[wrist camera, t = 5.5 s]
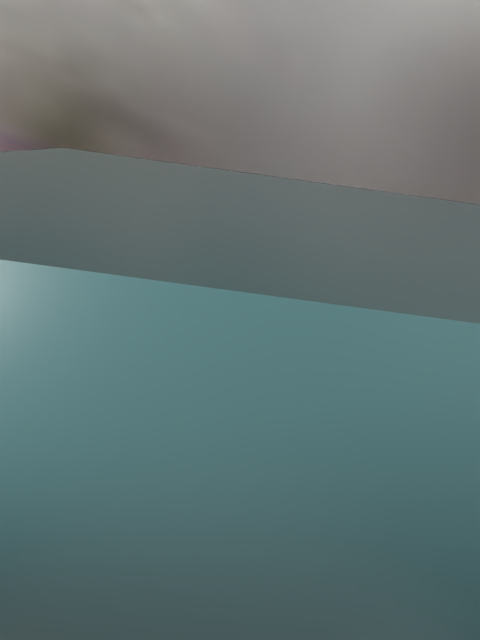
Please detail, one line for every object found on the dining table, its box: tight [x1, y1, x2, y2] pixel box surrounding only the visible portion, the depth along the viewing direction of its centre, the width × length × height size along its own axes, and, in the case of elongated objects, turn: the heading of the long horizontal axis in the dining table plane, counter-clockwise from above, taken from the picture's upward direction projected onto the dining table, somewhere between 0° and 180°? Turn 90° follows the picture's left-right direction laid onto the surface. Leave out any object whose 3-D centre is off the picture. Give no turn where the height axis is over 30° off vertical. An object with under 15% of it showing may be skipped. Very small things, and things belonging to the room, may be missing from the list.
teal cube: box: [0, 148, 480, 640], centre depth 9 cm, size 10×10×9 cm
